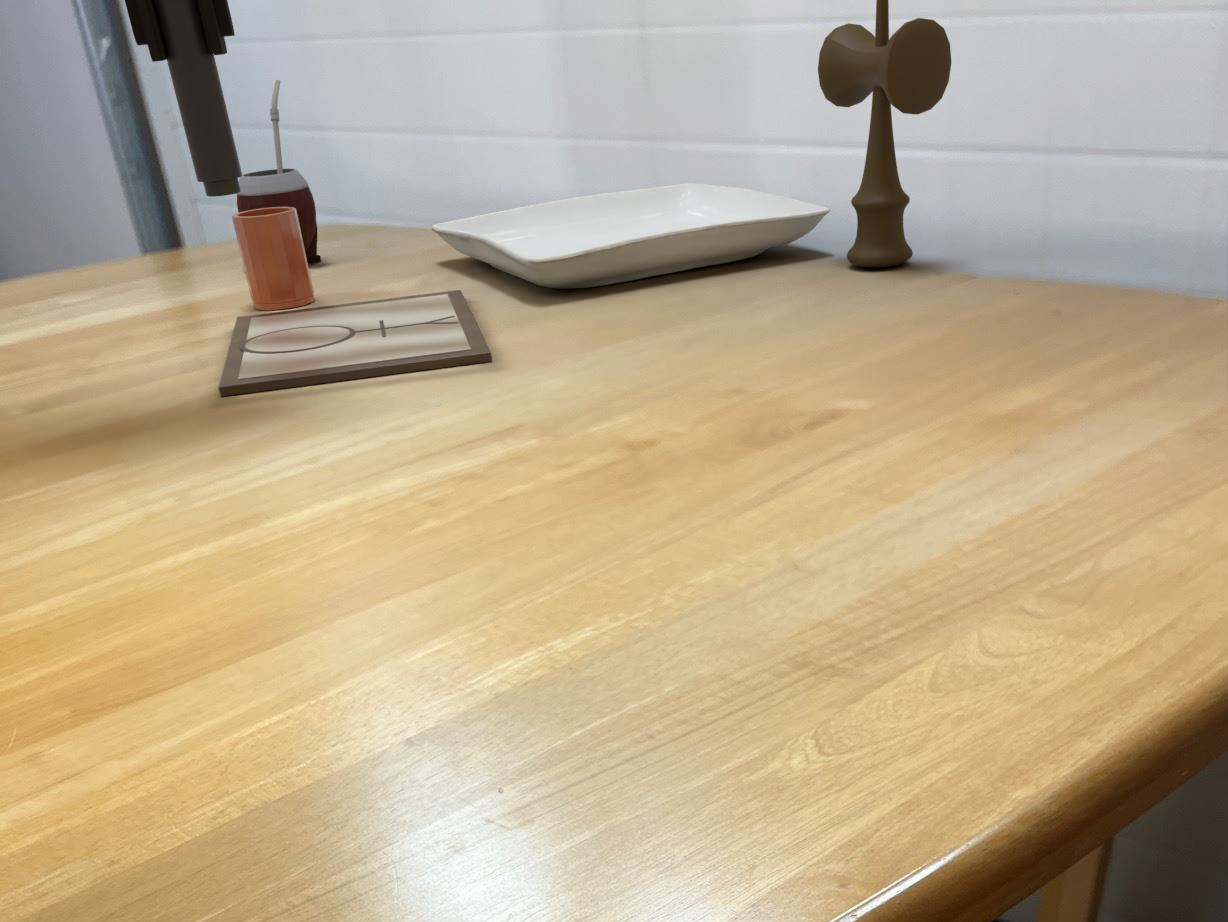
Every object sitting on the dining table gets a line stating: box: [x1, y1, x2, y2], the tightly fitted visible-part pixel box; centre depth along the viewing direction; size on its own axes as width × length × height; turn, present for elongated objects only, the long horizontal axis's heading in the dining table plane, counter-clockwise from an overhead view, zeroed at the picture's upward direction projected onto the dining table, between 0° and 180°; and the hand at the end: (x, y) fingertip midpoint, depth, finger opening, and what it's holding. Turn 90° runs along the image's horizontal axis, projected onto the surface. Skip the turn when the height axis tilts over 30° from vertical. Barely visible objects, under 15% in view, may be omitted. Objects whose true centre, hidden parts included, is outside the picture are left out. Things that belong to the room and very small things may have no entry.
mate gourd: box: [235, 79, 322, 264], centre depth 126 cm, size 8×8×15 cm
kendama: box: [817, 0, 952, 268], centre depth 102 cm, size 6×10×20 cm, turn 31°
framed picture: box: [218, 289, 493, 397], centre depth 99 cm, size 24×18×1 cm
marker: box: [152, 0, 243, 198], centre depth 76 cm, size 3×3×12 cm
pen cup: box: [231, 207, 316, 311], centre depth 112 cm, size 5×5×7 cm
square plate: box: [431, 182, 831, 290], centre depth 118 cm, size 27×27×4 cm
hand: (189, 53), depth 76 cm, fingers closed on marker, 2 cm apart
